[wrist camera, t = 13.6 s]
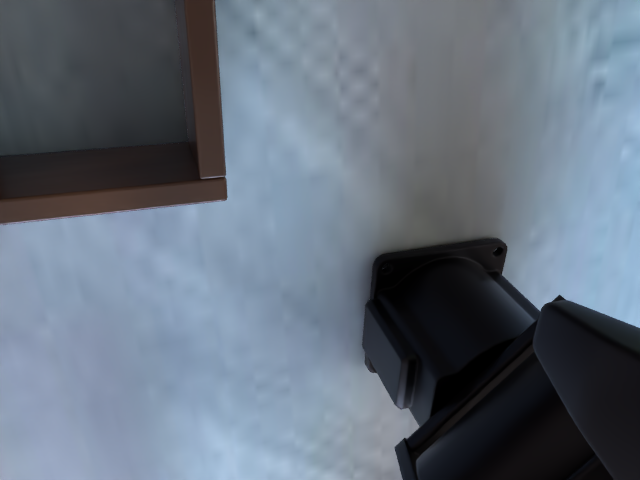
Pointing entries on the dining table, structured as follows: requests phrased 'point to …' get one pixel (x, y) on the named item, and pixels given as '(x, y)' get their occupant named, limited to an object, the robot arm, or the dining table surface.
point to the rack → (134, 150)
